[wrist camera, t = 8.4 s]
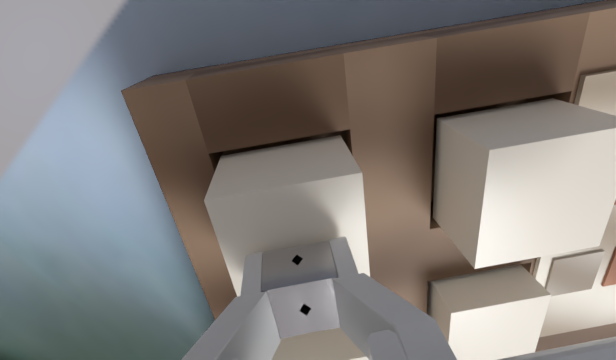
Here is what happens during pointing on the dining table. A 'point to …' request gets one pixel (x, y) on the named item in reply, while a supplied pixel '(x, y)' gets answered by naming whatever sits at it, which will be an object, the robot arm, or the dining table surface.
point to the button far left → (319, 347)
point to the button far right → (489, 312)
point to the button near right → (524, 180)
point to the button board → (390, 141)
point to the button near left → (287, 201)
